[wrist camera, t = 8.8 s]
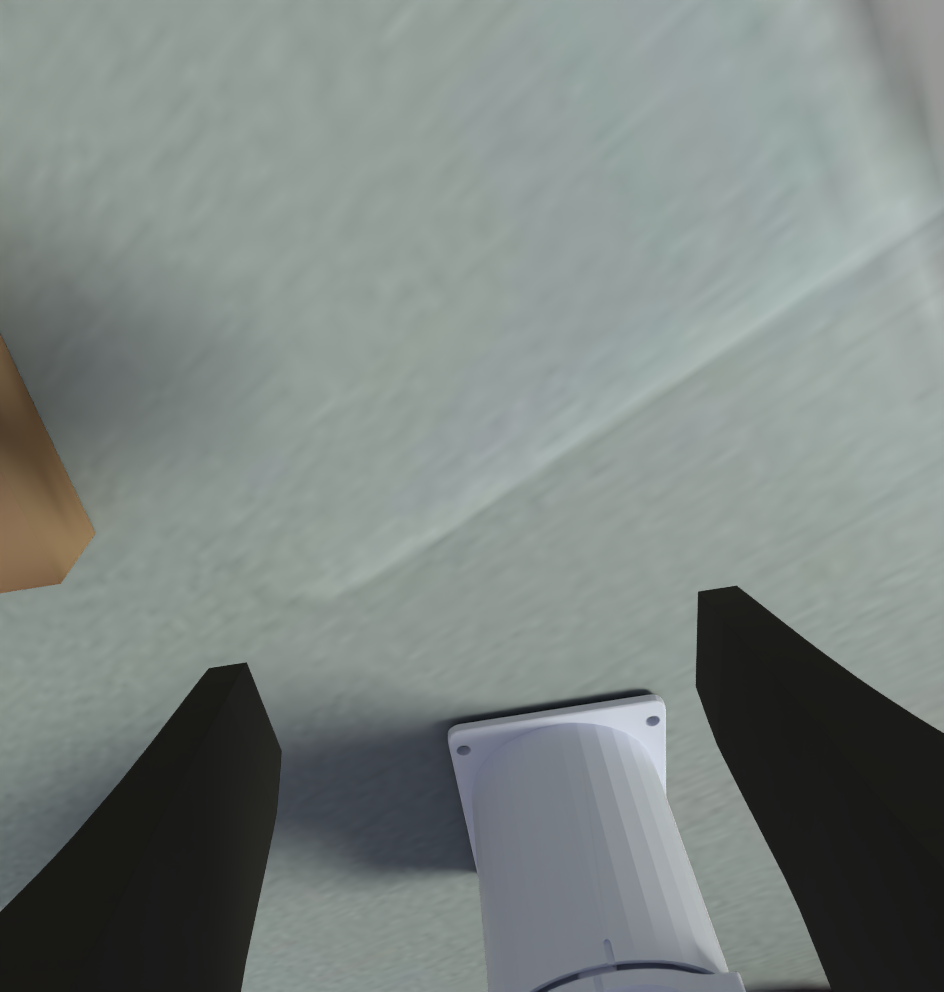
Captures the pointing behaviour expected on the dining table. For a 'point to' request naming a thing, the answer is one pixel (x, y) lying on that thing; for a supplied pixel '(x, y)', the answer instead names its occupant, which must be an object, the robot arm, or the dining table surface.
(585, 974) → the robot arm
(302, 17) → the dining table surface
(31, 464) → the walnut block
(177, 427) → the dining table surface
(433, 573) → the dining table surface
